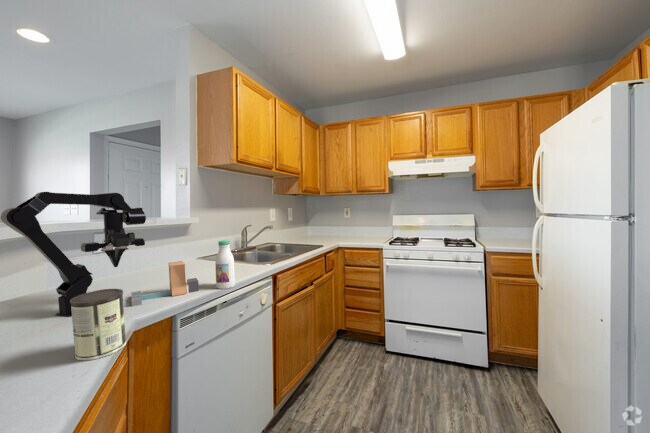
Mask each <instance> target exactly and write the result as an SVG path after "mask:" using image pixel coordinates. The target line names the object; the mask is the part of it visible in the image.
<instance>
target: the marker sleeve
mask: <svg viewBox="0 0 650 433" xmlns="http://www.w3.org/2000/svg"><path fill="white" fill-rule="evenodd" d="M168 276H169V277H168V278H169V290H171V293H172V295H171V296H172V297H176V296H180V295H184V294H185V295H186V294H187V292H186V283H187V279H186V264H185V262H184V261H182V260H181V261H173V262H168Z"/></svg>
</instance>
